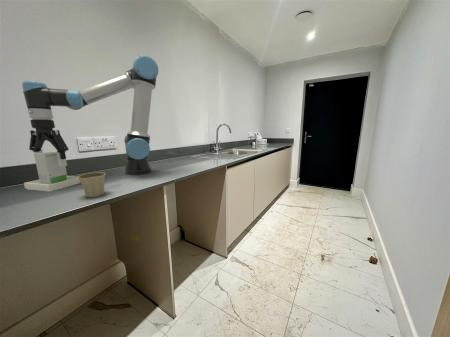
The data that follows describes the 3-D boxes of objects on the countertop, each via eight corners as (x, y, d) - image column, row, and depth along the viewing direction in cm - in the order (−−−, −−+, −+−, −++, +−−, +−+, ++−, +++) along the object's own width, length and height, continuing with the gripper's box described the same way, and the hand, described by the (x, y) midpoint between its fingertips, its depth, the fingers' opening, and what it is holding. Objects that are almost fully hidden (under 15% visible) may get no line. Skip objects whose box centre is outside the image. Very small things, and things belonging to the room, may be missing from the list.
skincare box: (50, 187, 82) (43, 153, 79) (39, 186, 84) (32, 153, 80) (69, 182, 90) (63, 151, 87) (59, 181, 92) (53, 151, 88)
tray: (82, 182, 93) (81, 176, 92) (49, 191, 79) (48, 185, 78) (60, 180, 96) (59, 175, 95) (25, 189, 82) (23, 183, 81)
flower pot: (87, 201, 69) (83, 179, 67) (76, 196, 74) (73, 175, 72) (112, 193, 77) (110, 174, 75) (102, 189, 81) (99, 171, 80)
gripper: (10, 119, 80) (22, 166, 84) (54, 118, 74) (64, 168, 79) (31, 120, 87) (41, 163, 91) (72, 119, 81) (81, 164, 86)
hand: (52, 165), depth 85 cm, fingers open, 13 cm apart
